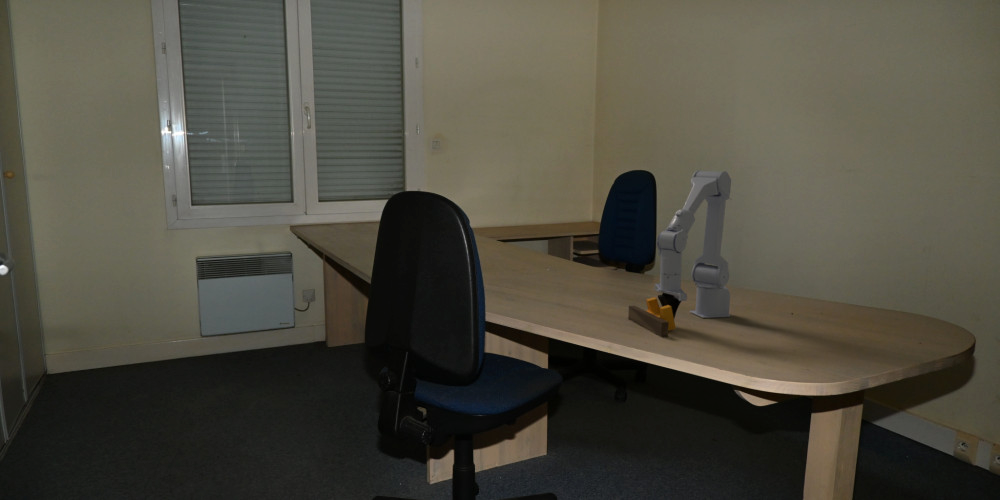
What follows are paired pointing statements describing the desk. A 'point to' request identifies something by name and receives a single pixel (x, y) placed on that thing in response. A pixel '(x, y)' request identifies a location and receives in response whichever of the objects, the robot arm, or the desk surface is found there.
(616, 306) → the desk surface
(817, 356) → the desk surface
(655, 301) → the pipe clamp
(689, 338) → the desk surface
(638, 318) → the rail
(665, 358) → the desk surface
